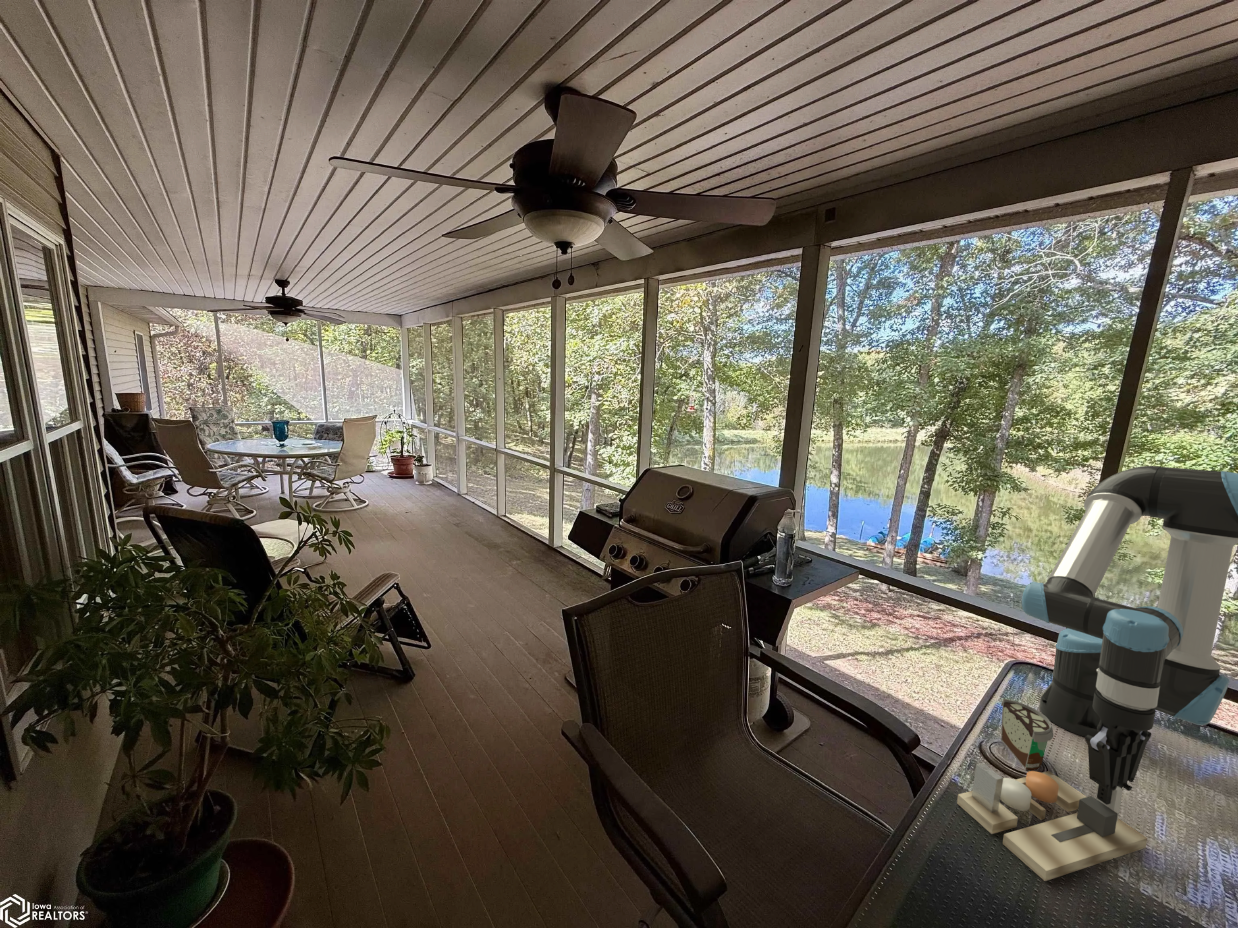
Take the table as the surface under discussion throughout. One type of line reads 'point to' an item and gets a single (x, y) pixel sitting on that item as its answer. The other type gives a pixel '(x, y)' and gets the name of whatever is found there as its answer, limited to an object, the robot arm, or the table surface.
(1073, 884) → the table surface
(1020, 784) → the white egg
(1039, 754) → the food container
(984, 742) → the table surface
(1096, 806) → the slider knob
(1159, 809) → the table surface
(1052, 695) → the robot arm
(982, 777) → the toggle lever
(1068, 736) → the table surface
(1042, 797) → the brown egg
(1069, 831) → the beige flat pieces
